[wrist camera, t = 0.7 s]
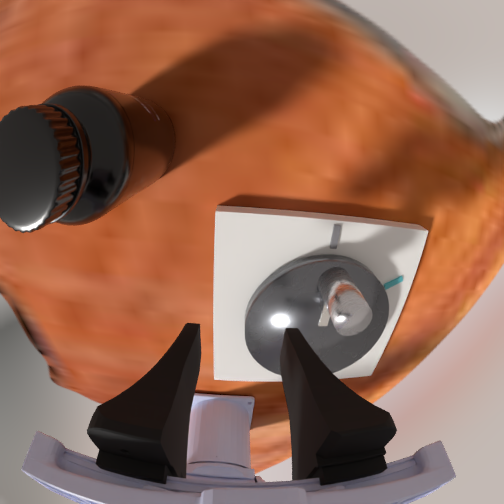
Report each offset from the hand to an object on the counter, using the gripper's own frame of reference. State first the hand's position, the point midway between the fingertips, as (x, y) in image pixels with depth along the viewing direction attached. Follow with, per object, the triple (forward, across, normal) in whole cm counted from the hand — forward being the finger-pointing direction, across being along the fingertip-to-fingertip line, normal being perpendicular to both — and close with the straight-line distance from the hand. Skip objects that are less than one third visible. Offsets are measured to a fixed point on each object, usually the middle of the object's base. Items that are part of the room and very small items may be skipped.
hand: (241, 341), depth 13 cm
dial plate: (+9, -6, +4) cm, 12 cm away
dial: (+8, -6, +5) cm, 11 cm away
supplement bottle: (+10, +8, -8) cm, 15 cm away
